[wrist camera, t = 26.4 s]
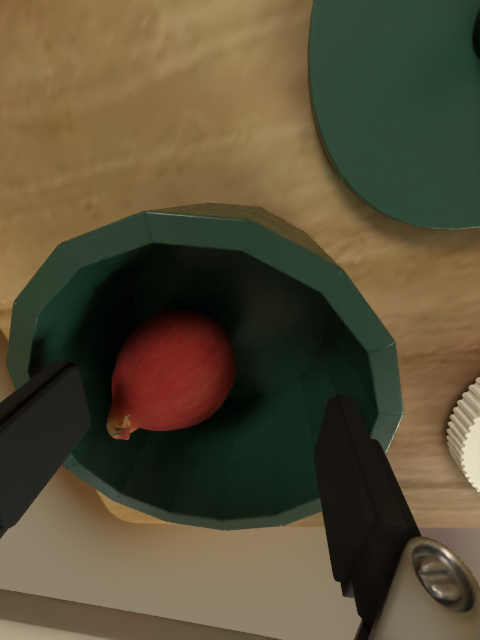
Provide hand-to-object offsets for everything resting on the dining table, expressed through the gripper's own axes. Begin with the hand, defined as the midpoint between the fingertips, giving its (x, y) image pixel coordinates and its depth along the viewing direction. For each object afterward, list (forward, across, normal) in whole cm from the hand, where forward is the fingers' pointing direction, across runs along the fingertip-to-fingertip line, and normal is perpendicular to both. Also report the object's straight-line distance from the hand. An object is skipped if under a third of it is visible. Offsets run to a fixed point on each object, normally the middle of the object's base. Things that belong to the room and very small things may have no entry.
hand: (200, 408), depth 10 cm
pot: (+8, 0, 0) cm, 8 cm away
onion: (+7, 0, 0) cm, 7 cm away
